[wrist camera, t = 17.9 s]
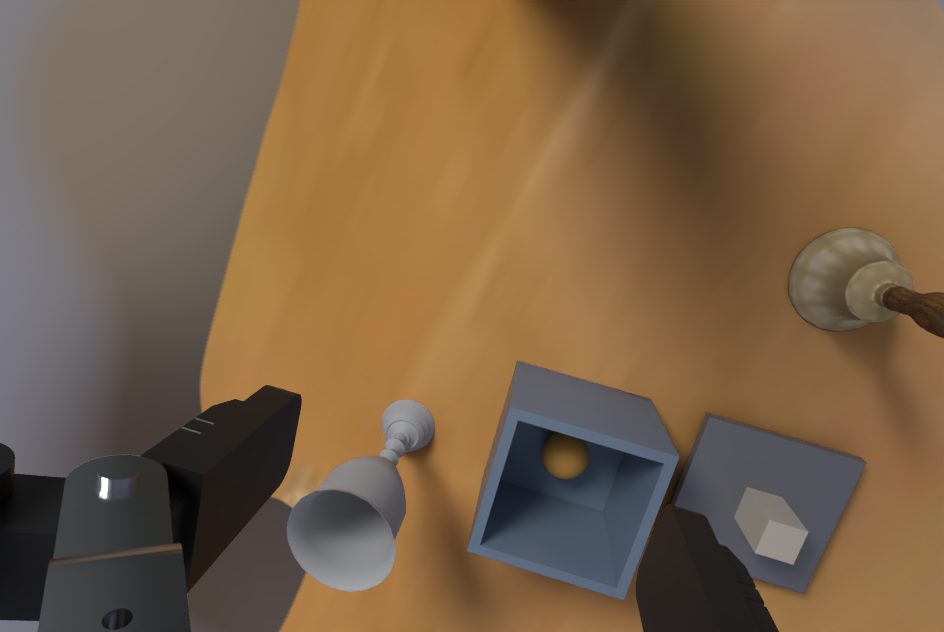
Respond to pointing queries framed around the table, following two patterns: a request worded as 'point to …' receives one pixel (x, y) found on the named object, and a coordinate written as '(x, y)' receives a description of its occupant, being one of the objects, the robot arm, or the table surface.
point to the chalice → (359, 508)
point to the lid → (767, 496)
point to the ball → (564, 455)
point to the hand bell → (858, 284)
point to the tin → (573, 482)
